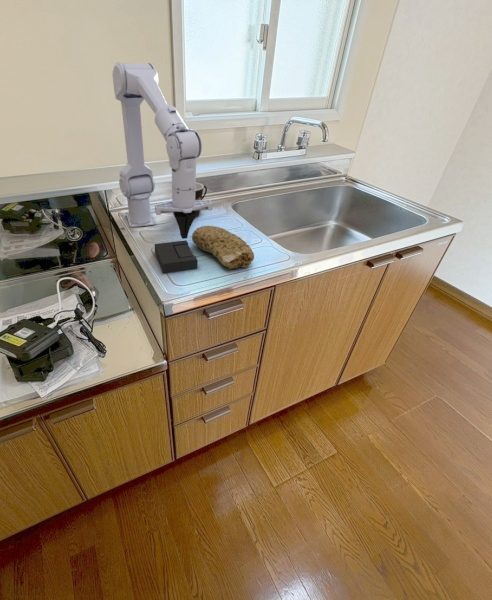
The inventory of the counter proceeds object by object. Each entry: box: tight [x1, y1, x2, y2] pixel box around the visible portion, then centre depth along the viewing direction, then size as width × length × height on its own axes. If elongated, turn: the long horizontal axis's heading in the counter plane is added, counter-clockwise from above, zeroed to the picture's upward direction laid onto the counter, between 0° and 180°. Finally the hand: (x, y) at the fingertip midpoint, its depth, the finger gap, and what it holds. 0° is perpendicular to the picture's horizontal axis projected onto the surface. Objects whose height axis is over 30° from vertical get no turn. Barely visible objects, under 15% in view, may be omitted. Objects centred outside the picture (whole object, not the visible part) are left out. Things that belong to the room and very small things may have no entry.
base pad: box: [154, 239, 198, 274], centre depth 89 cm, size 11×10×3 cm
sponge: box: [191, 225, 255, 270], centre depth 91 cm, size 13×8×20 cm
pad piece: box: [174, 243, 195, 258], centre depth 89 cm, size 6×4×3 cm, turn 18°
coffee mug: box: [195, 182, 208, 218], centre depth 112 cm, size 12×9×10 cm
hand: (183, 236), depth 86 cm, fingers closed
